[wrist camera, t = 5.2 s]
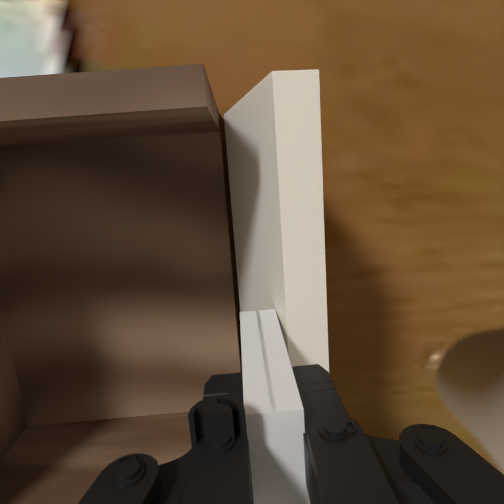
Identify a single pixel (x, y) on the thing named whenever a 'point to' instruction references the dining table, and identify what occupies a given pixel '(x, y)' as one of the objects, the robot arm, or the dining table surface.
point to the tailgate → (281, 208)
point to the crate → (108, 272)
